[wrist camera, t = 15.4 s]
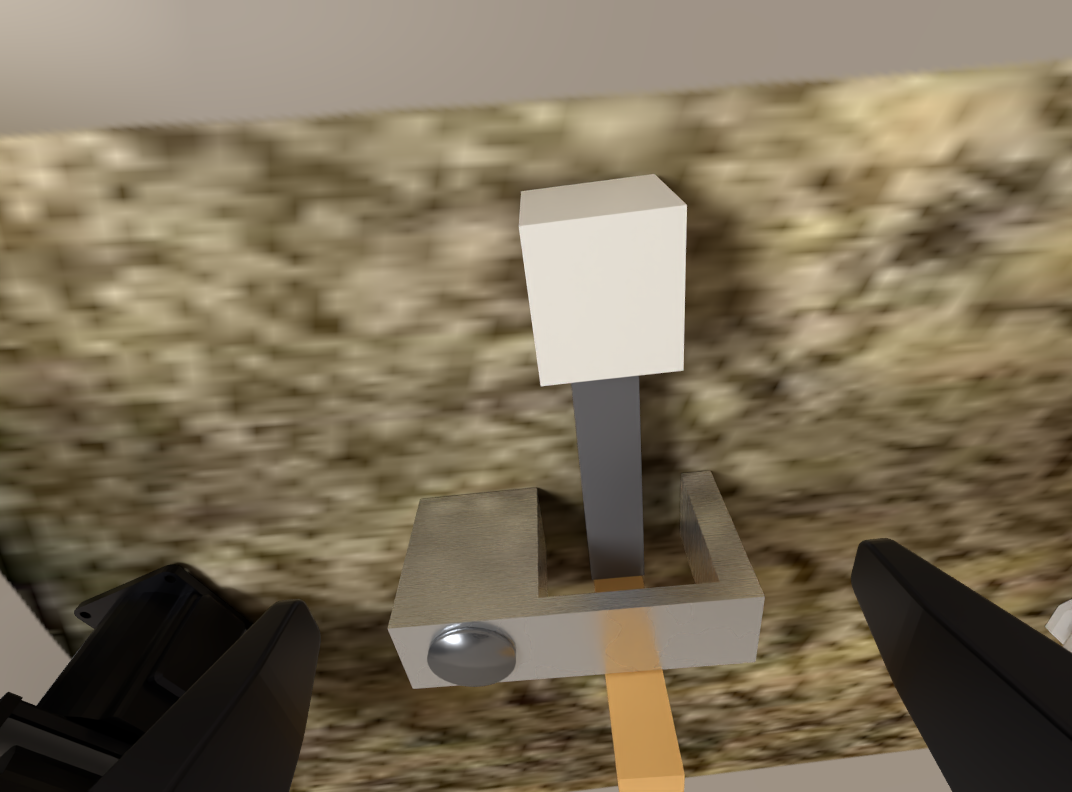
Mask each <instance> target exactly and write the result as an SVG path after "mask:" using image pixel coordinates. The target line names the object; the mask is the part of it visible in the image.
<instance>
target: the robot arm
mask: <svg viewBox="0 0 1072 792" xmlns="http://www.w3.org/2000/svg"><path fill="white" fill-rule="evenodd" d="M851 582H852V587H853V590H854V593H855V595H856V597H857V600H858V602H859V604H860V607H861V609H862V611H863V614H864V616H865V619H866V621H867V623H868V626H869V628H870V630H871V633H872V635H873V637H874V640H875V642H876V644H877V647H878V649H879V651H880V654H881V656H882V658H883V661H884V663H885V666H886V668H887V670H888V672H889V675H890V677H891V679H892V681H893V683H894V686H895V688H896V689H897V691H898V693H899V695H900V697H901V699H902V701H903V703H904V705H905V707H906V708H907V710H908V712H909V714H910V716H911V717H912V719H913V721H914V723H915V725H916V726H917V728H918V730H919V732H920V734H921V736H922V737H923V739H924V741H925V743H926V745H927V746H928V748H929V750H930V752H931V754H932V756H933V757H934V759H935V761H936V763H937V765H938V766H939V768H940V770H941V772H942V774H943V776H944V777H945V779H946V781H947V783H948V785H949V786H950V788H951V790H952V792H1072V652H1070V651H1068V650H1067V649H1065V648H1064V647H1062V646H1060V645H1059V644H1057V643H1056V642H1054V641H1053V640H1051V639H1049V638H1048V637H1046V636H1045V635H1043V634H1041V633H1040V632H1038V631H1037V630H1035V629H1034V628H1032V627H1030V626H1029V625H1027V624H1026V623H1024V622H1022V621H1021V620H1019V619H1018V618H1016V617H1014V616H1013V615H1011V614H1010V613H1008V612H1007V611H1005V610H1003V609H1002V608H1000V607H999V606H997V605H995V604H994V603H992V602H991V601H989V600H988V599H986V598H984V597H983V596H981V595H980V594H978V593H976V592H975V591H973V590H972V589H970V588H969V587H967V586H965V585H964V584H962V583H961V582H959V581H957V580H956V579H954V578H953V577H951V576H950V575H948V574H946V573H945V572H943V571H942V570H940V569H938V568H937V567H935V566H934V565H932V564H930V563H929V562H927V561H926V560H924V559H923V558H921V557H919V556H918V555H916V554H915V553H913V552H911V551H910V550H908V549H907V548H905V547H904V546H902V545H900V544H899V543H897V542H896V541H894V540H891V539H888V538H880V539H870V540H864V541H862V542H861V543H860V544H859V546H858V549H857V553H856V557H855V562H854V566H853V570H852V574H851ZM74 614H75V616H76V617H77V618H79V619H80V620H82V621H83V622H85V623H86V624H88V625H89V626H91V627H92V628H94V631H93V632H92V633H91V634H90V636H89V637H88V638H87V640H86V641H85V642H84V644H83V645H82V646H81V648H80V649H79V650H78V652H77V653H76V654H75V655H74V657H73V658H72V659H71V661H70V662H69V663H68V665H67V666H66V667H65V669H64V670H63V671H62V673H61V674H60V675H59V677H58V678H57V679H56V680H55V682H54V683H53V685H52V686H51V687H50V688H49V690H48V691H47V692H46V694H45V695H44V696H43V697H42V699H41V700H40V701H39V703H38V704H37V705H36V706H35V705H33V704H30V703H28V702H25V701H22V700H21V699H22V697H21V696H18V695H16V694H13V693H10V692H7V693H6V694H5V695H4V696H3V697H2V698H1V699H0V792H289V790H290V786H291V783H292V779H293V775H294V772H295V768H296V765H297V761H298V758H299V754H300V750H301V746H302V742H303V738H304V733H305V728H306V723H307V717H308V711H309V706H310V700H311V694H312V689H313V683H314V677H315V672H316V666H317V660H318V654H319V649H320V642H321V636H320V630H319V627H318V625H317V624H316V622H315V620H314V618H313V616H312V614H311V612H310V610H309V608H308V607H307V605H306V603H305V602H304V601H303V600H301V599H292V600H282V601H278V602H276V603H275V604H273V605H272V606H271V607H270V608H269V609H268V610H267V611H266V612H265V613H264V614H263V615H262V616H261V617H260V618H259V619H258V620H257V621H256V622H255V623H254V624H251V623H250V622H249V621H248V620H246V619H245V618H244V617H243V616H241V615H240V614H239V613H238V612H236V611H235V610H234V609H233V608H231V607H230V606H229V605H228V604H226V603H225V602H224V601H223V600H221V599H220V598H219V597H218V596H216V595H215V594H214V593H213V592H211V591H210V590H209V589H208V588H206V587H205V586H204V585H203V584H201V583H200V582H199V581H198V580H196V579H195V578H194V577H193V576H191V575H190V574H189V573H188V572H186V571H185V570H184V569H183V568H181V567H179V566H176V565H167V566H164V567H162V568H160V569H158V570H155V571H153V572H151V573H148V574H146V575H144V576H141V577H139V578H137V579H134V580H132V581H130V582H127V583H125V584H123V585H121V586H118V587H116V588H114V589H111V590H109V591H107V592H104V593H102V594H100V595H97V596H95V597H93V598H91V599H88V600H86V601H84V602H82V603H81V604H80V605H79V606H78V607H77V608H76V610H75V611H74Z"/></svg>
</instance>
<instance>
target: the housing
mask: <svg viewBox="0 0 1072 792" xmlns="http://www.w3.org/2000/svg"><path fill="white" fill-rule="evenodd" d="M680 536H681V539H682V543H683V546H684V549H685V552H686V555H687V559H688V562H689V565H690V568H691V572H692V575H693V578H694V581H695V584H691V585H679V586H668V587H656V588H645V589H633V590H622V591H610V592H599V593H587V594H576V595H565V596H553V597H548V587H547V555H546V542H545V535H544V529H543V523H542V517H541V510H540V504H539V498H538V492H537V488H530V489H519V490H509V491H499V492H489V493H479V494H469V495H459V496H449V497H438V498H428V499H420V501H419V505H418V509H417V513H416V517H415V521H414V525H413V529H412V533H411V537H410V541H409V545H408V549H407V553H406V557H405V561H404V565H403V569H402V573H401V577H400V581H399V585H398V589H397V593H396V597H395V601H394V605H393V609H392V613H391V617H390V621H389V625H388V631H389V633H390V636H391V638H392V640H393V643H394V645H395V648H396V650H397V652H398V655H399V657H400V659H401V662H402V664H403V666H404V669H405V671H406V673H407V676H408V678H409V681H410V683H411V685H412V688H413V689H418V688H431V687H444V686H456V685H461V686H470V687H477V686H486V685H491V684H494V683H497V682H507V681H520V680H533V679H546V678H558V677H571V676H584V675H596V674H609V673H622V672H635V671H647V670H660V669H673V668H686V667H698V666H711V665H724V664H737V663H749V662H755V661H756V654H757V647H758V640H759V634H760V627H761V620H762V613H763V607H764V600H765V596H764V593H763V591H762V589H761V586H760V584H759V582H758V579H757V577H756V575H755V572H754V570H753V568H752V566H751V563H750V561H749V559H748V556H747V554H746V552H745V549H744V547H743V545H742V542H741V540H740V538H739V536H738V533H737V531H736V529H735V526H734V524H733V522H732V519H731V517H730V515H729V512H728V510H727V508H726V505H725V503H724V501H723V499H722V496H721V494H720V492H719V489H718V487H717V485H716V482H715V480H714V478H713V475H712V473H711V471H702V472H691V473H681V499H680Z"/></svg>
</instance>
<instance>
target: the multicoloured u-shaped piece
mask: <svg viewBox="0 0 1072 792" xmlns="http://www.w3.org/2000/svg"><path fill="white" fill-rule="evenodd" d="M686 223H687V205H686V204H685V203H684V202H683V201H682V200H681V199H680V198H679V197H678V196H677V195H676V194H675V193H674V192H673V191H672V190H671V189H670V188H669V187H668V186H667V185H665V184H664V183H663V182H662V181H661V180H660V179H659V178H658V177H657V176H656V175H655V174H651V175H643V176H635V177H628V178H620V179H612V180H605V181H597V182H589V183H582V184H574V185H566V186H559V187H551V188H543V189H536V190H528V191H521V203H520V217H519V231H520V238H521V246H522V253H523V260H524V268H525V275H526V282H527V289H528V297H529V304H530V311H531V318H532V326H533V333H534V340H535V347H536V355H537V362H538V369H539V376H540V384H541V386H547V385H556V384H565V383H571V386H572V396H573V406H574V415H575V425H576V435H577V444H578V454H579V464H580V473H581V483H582V493H583V502H584V512H585V522H586V531H587V541H588V550H589V559H590V568H591V576H592V580H594V586H595V593H599V592H610V591H622V590H633V589H645V587H644V582H643V578H642V576H643V575H644V542H643V506H642V470H641V433H640V397H639V375H647V374H656V373H665V372H675V371H683V364H684V317H685V270H686ZM605 678H606V687H607V695H608V703H609V712H610V720H611V728H612V737H613V745H614V754H615V762H616V770H617V779H618V787H619V792H684V779H685V774H684V770H683V765H682V760H681V756H680V751H679V746H678V742H677V737H676V732H675V727H674V723H673V718H672V713H671V709H670V704H669V699H668V695H667V690H666V685H665V681H664V676H663V671H662V669H660V670H647V671H635V672H622V673H609V674H605Z"/></svg>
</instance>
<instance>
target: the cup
mask: <svg viewBox="0 0 1072 792" xmlns="http://www.w3.org/2000/svg"><path fill="white" fill-rule="evenodd" d="M1045 627H1046V628H1047V629H1048V630H1049V632H1050V633H1051V634H1052V635H1054V636H1055V637H1056V638H1057V639H1058V640H1059V641H1060V642H1061V643H1062V644H1063V647H1064V648H1065V649H1067V650H1068V651H1070V652H1072V599H1071V600H1069V601H1067V602H1065V603H1063V604H1061V605H1059V606H1058V608H1057V609H1056V611H1055V612H1054V614H1053V615H1052V617H1051V618H1050V620H1049V621H1048V623H1047V624H1046V626H1045Z"/></svg>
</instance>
